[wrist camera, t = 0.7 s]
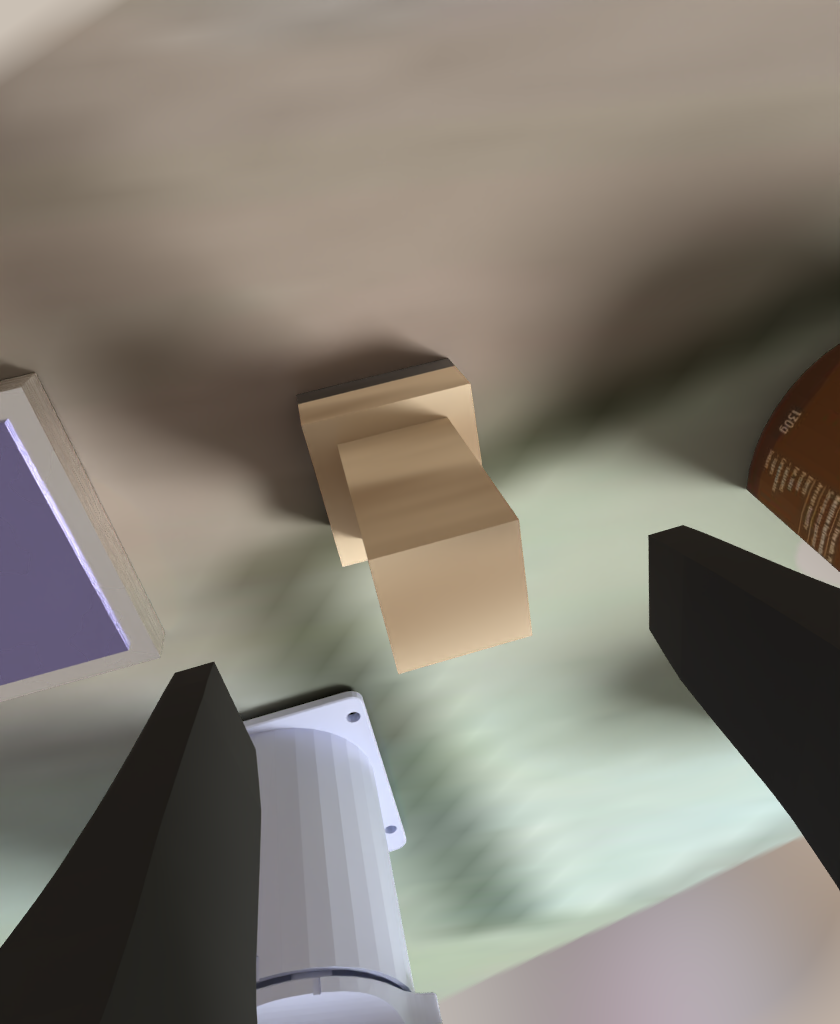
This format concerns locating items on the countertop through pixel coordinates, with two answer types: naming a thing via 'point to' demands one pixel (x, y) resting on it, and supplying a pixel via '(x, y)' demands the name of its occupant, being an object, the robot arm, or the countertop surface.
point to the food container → (804, 458)
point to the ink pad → (59, 560)
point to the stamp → (419, 510)
